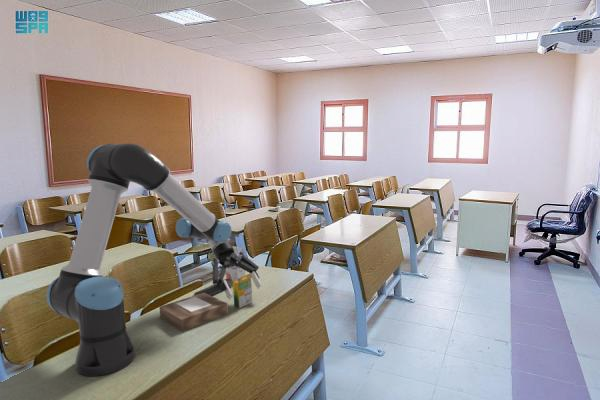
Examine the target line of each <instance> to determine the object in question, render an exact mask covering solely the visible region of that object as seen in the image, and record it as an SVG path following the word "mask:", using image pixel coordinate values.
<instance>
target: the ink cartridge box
mask: <svg viewBox="0 0 600 400" xmlns="http://www.w3.org/2000/svg"><path fill="white" fill-rule="evenodd" d="M232 247H233V249H234V252H235V253H236V254H239V253H240V252H243V254H244V255H245V252H244V251H245V250H244V249H243V248H241V247H238V246H234V245H232ZM237 263H238V262H237ZM225 274H226V275H225V277H226V279H227V280H229V281H232V282H235V281H237V280H238V278H240V277H243V276H245V275H246V271H245V270H243V269H242V268H240V267H236V266H234V267H230V268H226V270H225ZM226 279H225V280H226Z"/></svg>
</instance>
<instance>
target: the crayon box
mask: <svg viewBox="0 0 600 400" xmlns="http://www.w3.org/2000/svg"><path fill="white" fill-rule="evenodd" d="M232 294H233V306H234V308H237V309H241V308H243V307H245V306H247V305H249V304H251V303H253V289H252V278H251V273H248V274H245V276H243V277H240V278H238V280H237V281H235V282H234V281H232Z"/></svg>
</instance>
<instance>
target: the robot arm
mask: <svg viewBox="0 0 600 400" xmlns="http://www.w3.org/2000/svg"><path fill="white" fill-rule="evenodd" d="M86 169H87V170H88V173H89V176H88V179H87V181H88V183H89V185H90V187H91V189H90V190H89V194H88V198H87V202H86V206H85V209H84V212H83V215H82V219H81V222H80V225H79V229H78V232H77V235H76V239H75V243H74V246H73V248H72V253H71V256H70V259H69V263H67V264H66V265H65V266H63V267H61V269H60V272H59V275H58V276H57V277H56V278H55V279H54V280H52V281H51V283H50V284H49V286H48V288H47V290H46V291H47V292H46V302H47V304H48V306H49V307H50V309H51V310H52V311H54V312H55V313H56V314H57V315H59V316H62V317H66V318H68V319H70V320H73V321H75V322H77V323H78V330H79V339H80V341H79V346H78V350H77V354H76V357H75V370H76V372H77V373H78V374H79V375H82V376H85V377H99V376H105V375H108V374H111V373H114V372H118V371H119V370H121V369H123V368H124V369H125V368H126V367H127V366H128V365H130V364H131V363H132V362H133V360H134V359H135V358H136V350H135V345H134V343H133V342H132V339H131V338H130V336H129V333H128V332H127V325H126V314H125V313H126V312H125V311H126V310H125V301H124V297H125V293H124V290H123V285H122V283H121V282H120V280H118V279H116V278H114V277H110V276H104V273H103V271H102V270H101V266H102V262H103V259H104V256H105V252H106V249H107V245H108V243H109V238H110V235H111V231H112V227H113V224H114V220H115V216H116V215H117V214H116V213H117V209H118V207H119V202H120V200H121V195H122V194H124V193H125V192H128V189H129V186H130V183H131V182H132V183H135V184H137V185H138V186H141V187H143V189H145V190H146V191H148V192H151V191H152V192H153V193H155V194H156V195H157V196H158V197H159V198H161V199H162V201H164V202H165V203H167V205H169V206H170V207H171V208H173V209H174V211H176V213H178V214H179V215H180V216H181V218H179V219H178V220H176V223H175V232H176V234H177V236H179V237H180V238H185V239H188V238H193V239H200V240H205V241H207V243H208V244H209V246H210V248H211V251H212V252H213V254H214V256H215V257H214V258H213V259H212V261H211V262H210V263H211V264H210V265H211V266H212V284H213V285H215V284H217V285H220V287H221V289H222V291H223V292H224V293H225V295H226V297H227V298H228V300H231V298H233V297H234V293H233V291H232V290H231V288H229V286H228V285H229V284H228V282H227V280H226V279H224V278H225V274H226V268H230V267H234V266H236V267H240V268H242V269H243V270H245V272H247V273H248V274H250V273H251V281H253V283H254V285H255V287H256V288H257V290H259V289H261V287H262V286H263V283H262V282H261V280H260V276H259V273H258V272H257V271H258V269H259V266H258V265H257V264H256V263H254V261H252V260H251V259H250V258H248V257H247V256H246V255H245V253H244V254H243V252H240V253H239V254H236V253H235V252H234V249H233V245H232V243H231V242H230V240H229V239H230V238H231V235H232V226H231V224H230V223H229V222H227V221H225V220H219V219H218V218H217V217H216V215H215V214H214V213H213V212H211V211H209V209H208V208H206V206H204V204H202V203H201V202H200V201H199V199H197V198H196V197H195V196H194V195H193V194H192V193H191V192H190V191H188V189H186V187H185V186H184V185H182V184H181V182H179V180H177V179H176V178H175V177H174V176H173V175H172V174H171V170H170V168H169V167H168V166H167V165H166V164H165V163H164V162H163V161H162V160H161V159H160V158H159V157H157V156H156V155H155V154H154V153H152V152H151V151H150V150H148V149H146V148H145V147H143V146H141V145H139V144H135V143H131V142H129V143H116V144H115V143H107V144H102V145H99V146H97V147H95V148H94V149H92V150H91V151H90V153H88V157H87V159H86ZM237 262H238V263H237ZM219 265H221V267H220V272H219Z"/></svg>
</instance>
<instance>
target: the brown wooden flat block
mask: <svg viewBox="0 0 600 400" xmlns="http://www.w3.org/2000/svg"><path fill="white" fill-rule="evenodd" d="M228 305H229V304H228V303H227V302H225V301H223V300H220V299H219V298H217V297H214V296H210V295H208V294H206V293H201V294H198V295H195V296H194V295H192V296H190V297H185V298H182V299H179V300H176V301H173V302H170V303H167V304H164V305H161V306H159V317H160V318H161V319H162V320H164V321H166V323H169V324H170V325H171V326H173V327H175V328H176V329H178V330H180V331H181V332H184V331H186V330H187V331H188V330H190V329H192V328H195V327H198V326H200V325H203V324H205V323H208V322H210V321H213V320H216V319H219V318H222V317H224V316H227V315H228V314H229V306H228Z"/></svg>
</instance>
